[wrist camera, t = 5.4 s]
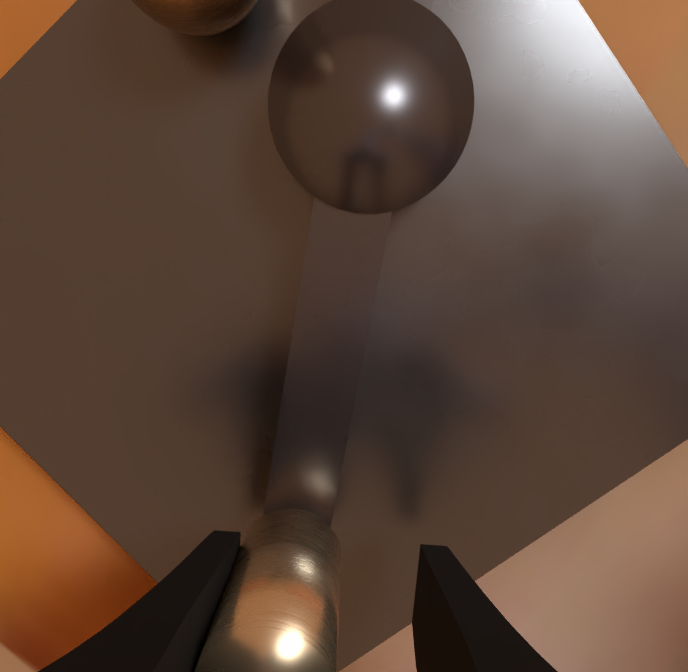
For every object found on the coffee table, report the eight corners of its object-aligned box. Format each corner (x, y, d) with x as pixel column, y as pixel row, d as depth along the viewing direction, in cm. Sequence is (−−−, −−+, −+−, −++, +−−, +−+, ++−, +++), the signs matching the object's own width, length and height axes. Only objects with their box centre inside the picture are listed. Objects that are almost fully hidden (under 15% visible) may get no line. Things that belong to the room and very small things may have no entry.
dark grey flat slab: (769, 346, 13) (957, 397, 9) (288, 672, 16) (265, 828, 12) (374, -250, 11) (386, -551, 7) (-124, 254, 13) (-341, 264, 9)
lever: (313, -168, 9) (277, -512, 5) (518, -127, 9) (658, -431, 5) (211, 560, 13) (137, 730, 8) (363, 586, 13) (367, 769, 8)
